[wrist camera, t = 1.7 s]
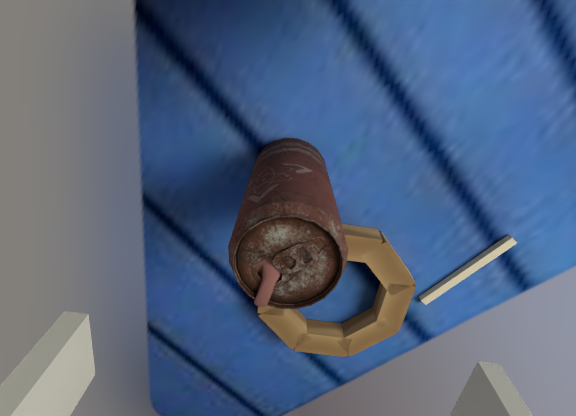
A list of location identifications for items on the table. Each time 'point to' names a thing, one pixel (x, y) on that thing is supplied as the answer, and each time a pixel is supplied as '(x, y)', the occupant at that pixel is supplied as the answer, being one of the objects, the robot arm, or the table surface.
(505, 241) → the straight beige square stick
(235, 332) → the table surface
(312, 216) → the can
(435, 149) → the table surface
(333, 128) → the table surface
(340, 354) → the wooden ring
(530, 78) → the table surface
